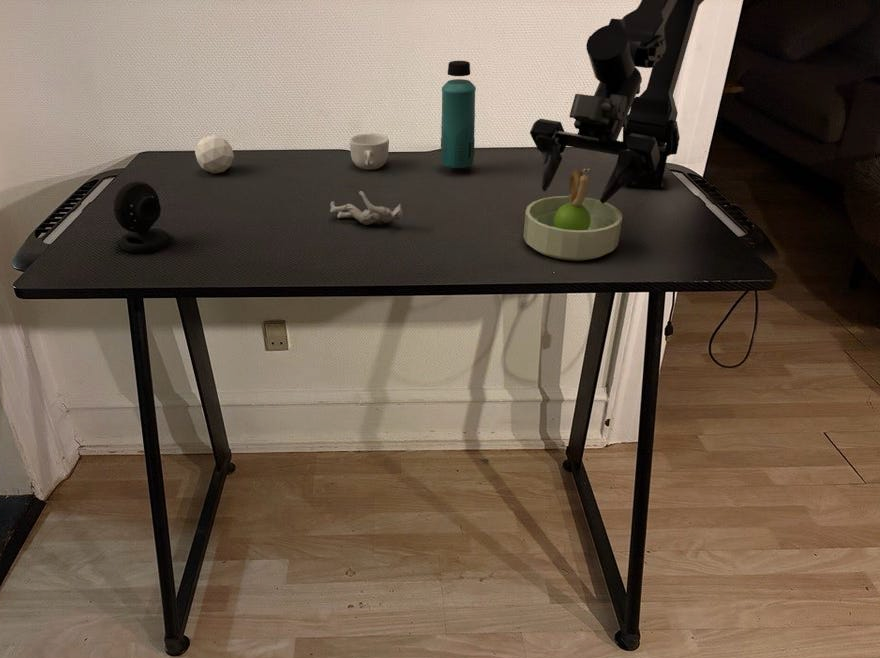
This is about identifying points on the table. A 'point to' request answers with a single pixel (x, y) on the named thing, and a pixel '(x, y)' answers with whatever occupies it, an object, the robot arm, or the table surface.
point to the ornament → (214, 154)
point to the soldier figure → (368, 212)
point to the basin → (572, 242)
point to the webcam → (139, 217)
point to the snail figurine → (574, 204)
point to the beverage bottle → (458, 118)
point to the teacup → (369, 150)
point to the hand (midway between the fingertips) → (572, 195)
